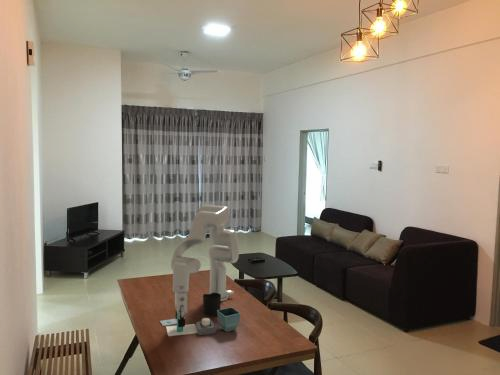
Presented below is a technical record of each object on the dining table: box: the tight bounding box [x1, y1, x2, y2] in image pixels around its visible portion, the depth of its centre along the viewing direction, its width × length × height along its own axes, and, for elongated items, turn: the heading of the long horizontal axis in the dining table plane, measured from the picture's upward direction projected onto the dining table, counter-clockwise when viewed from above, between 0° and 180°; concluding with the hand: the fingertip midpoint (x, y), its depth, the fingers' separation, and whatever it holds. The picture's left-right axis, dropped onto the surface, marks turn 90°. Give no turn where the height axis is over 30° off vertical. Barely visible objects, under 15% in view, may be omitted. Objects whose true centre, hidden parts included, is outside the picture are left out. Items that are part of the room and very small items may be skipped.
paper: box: [165, 323, 198, 337], centre depth 197 cm, size 14×10×1 cm
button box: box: [195, 320, 216, 336], centre depth 197 cm, size 8×8×3 cm
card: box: [159, 318, 177, 327], centre depth 205 cm, size 8×6×1 cm
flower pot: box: [216, 306, 242, 333], centre depth 199 cm, size 9×9×9 cm
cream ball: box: [201, 317, 211, 327], centre depth 197 cm, size 4×4×4 cm
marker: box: [176, 311, 183, 332], centre depth 195 cm, size 3×3×10 cm
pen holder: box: [202, 292, 222, 317], centre depth 218 cm, size 9×9×10 cm
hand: (180, 322), depth 195 cm, fingers open, 9 cm apart
